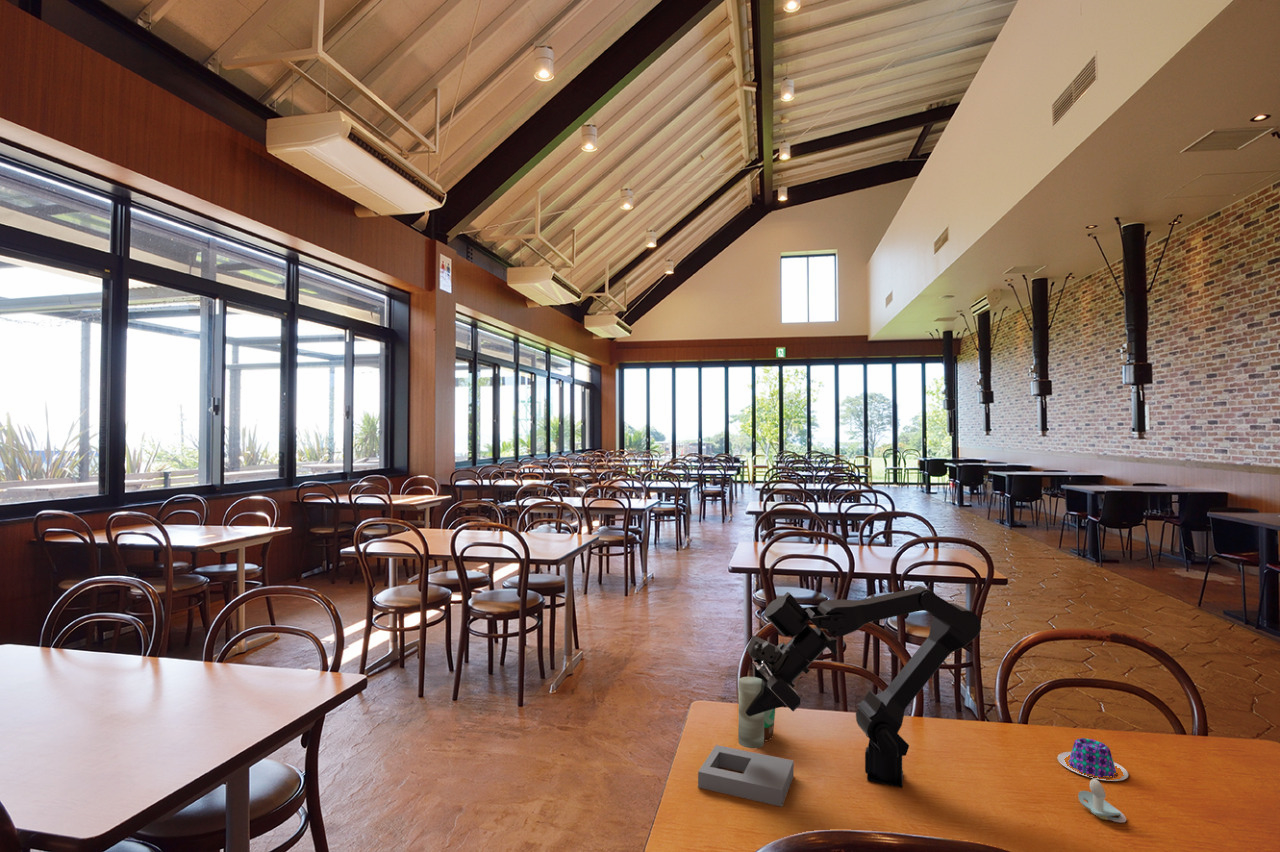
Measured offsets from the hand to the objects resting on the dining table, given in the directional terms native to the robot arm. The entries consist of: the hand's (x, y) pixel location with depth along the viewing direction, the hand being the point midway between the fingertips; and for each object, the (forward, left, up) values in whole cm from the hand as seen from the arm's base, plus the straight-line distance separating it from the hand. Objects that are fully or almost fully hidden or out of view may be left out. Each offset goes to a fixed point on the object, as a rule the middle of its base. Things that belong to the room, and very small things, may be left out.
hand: (744, 708), depth 128 cm
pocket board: (-1, +1, -13) cm, 14 cm away
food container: (0, -21, -14) cm, 25 cm away
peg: (-1, -1, -7) cm, 7 cm away
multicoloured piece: (-65, -34, -14) cm, 74 cm away
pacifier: (-62, -15, -14) cm, 66 cm away
